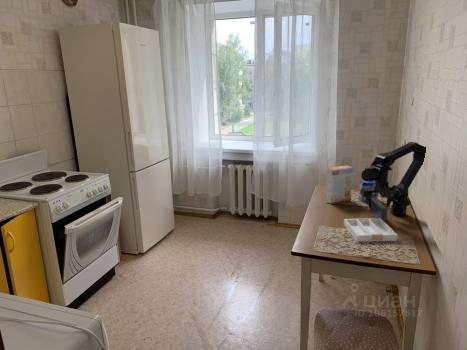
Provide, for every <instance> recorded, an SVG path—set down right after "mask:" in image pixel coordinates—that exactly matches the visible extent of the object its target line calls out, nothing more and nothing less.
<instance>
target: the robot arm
mask: <svg viewBox="0 0 467 350" xmlns="http://www.w3.org/2000/svg"><path fill="white" fill-rule="evenodd" d="M424 146H425V145H422V144H420V143H418V142H415V141H408V142H407V143H406V144H404V145H402V146H399V147H398V148H395V149H393V150H391V151H387V152H382V153H378V154H376V156H375V158H374V159H373V161H372V163H371V164H370V166H369V167H365V168H364V169H363V170H362V171H361V175H360V177H361V180H364V181H373V180H374V181H375V187H374V190H370V189H369V188H362V189H361V190H360V189H359V191H360V194H362V195H363V196H364V197H365V198H366V200H367V206H368V208H369V209H370V208H371V199H372V197H371V196H372V194H378V195H380V197H381V198H386V208H387V209H389V207H391V208H390V214H392V215H393V216H394V217H407V216H408V214H407V208H408V207H409V206H410V204H411V202H412V201H411V200H410V199H409V198H408V197H409V188H410V187H411V185H412V183H413V182H414V179H415V178H416V176H417V175H418V173H419V171H420V169H421V168H422V166H423V165H424V164H423V162H424V158H425V153H426V147H427V146H425V147H424ZM410 153H412V161H411V163H410V165H409V166H408V168H407V170H406V171H405V173H404V175H403V177H401V180H400V181H399V183H398V184H395V185H394V184H393V185H392V186H390V185H389V184H390V183H389V179H388V178H389V171H393V168H392V167H391V166H392V165H393V164H394V163H395V162H396V161H397V160H399V159H401V158H402V157H405V156H407V155H408V154H410ZM391 203H392V204H391Z"/></svg>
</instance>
